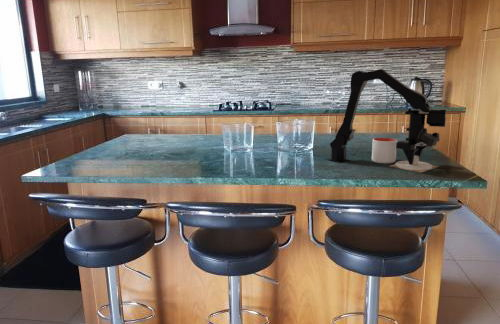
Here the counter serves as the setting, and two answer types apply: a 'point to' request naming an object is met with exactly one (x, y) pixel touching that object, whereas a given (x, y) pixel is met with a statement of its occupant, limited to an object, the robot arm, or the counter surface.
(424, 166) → the lid
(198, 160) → the counter surface
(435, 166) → the trivet
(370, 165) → the counter surface
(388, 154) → the cup
